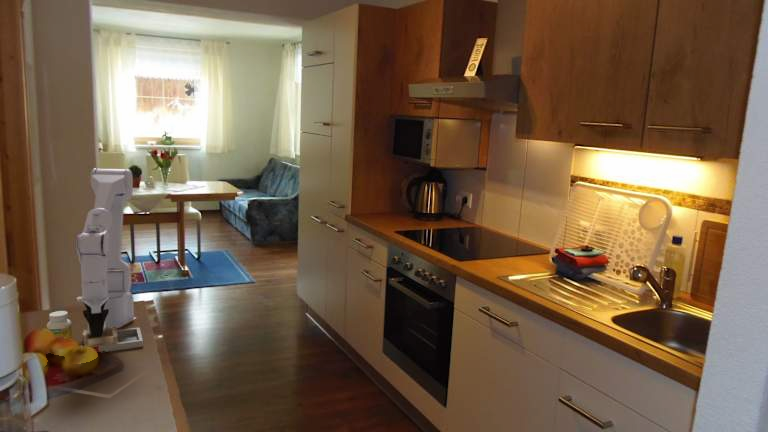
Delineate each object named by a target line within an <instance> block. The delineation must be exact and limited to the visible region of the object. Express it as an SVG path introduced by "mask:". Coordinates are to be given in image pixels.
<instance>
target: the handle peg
mask: <svg viewBox="0 0 768 432" xmlns="http://www.w3.org/2000/svg"><path fill="white" fill-rule="evenodd" d="M87 330H88V339H91V338H92V335H91V332H90V328H89V324H88V323H87ZM101 337H106V322H104V328H103V333H102V336H101ZM94 338H99V337H94Z"/></svg>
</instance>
